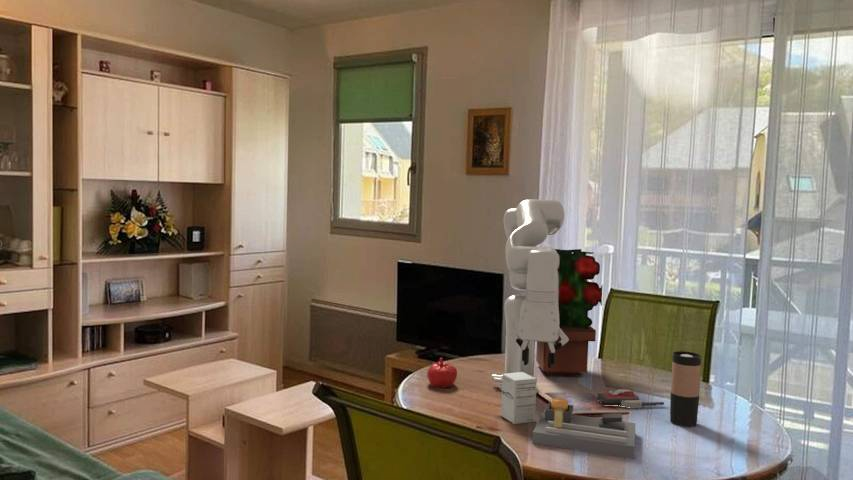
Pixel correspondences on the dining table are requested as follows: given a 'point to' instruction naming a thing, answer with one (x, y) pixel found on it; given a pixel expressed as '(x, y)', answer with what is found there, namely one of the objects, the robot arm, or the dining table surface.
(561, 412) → the golden rectangular block
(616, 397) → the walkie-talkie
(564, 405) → the orange button
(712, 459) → the dining table surface
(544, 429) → the panel
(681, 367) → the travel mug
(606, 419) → the black rocker
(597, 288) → the potted plant
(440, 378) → the pomegranate
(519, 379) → the supplement box
